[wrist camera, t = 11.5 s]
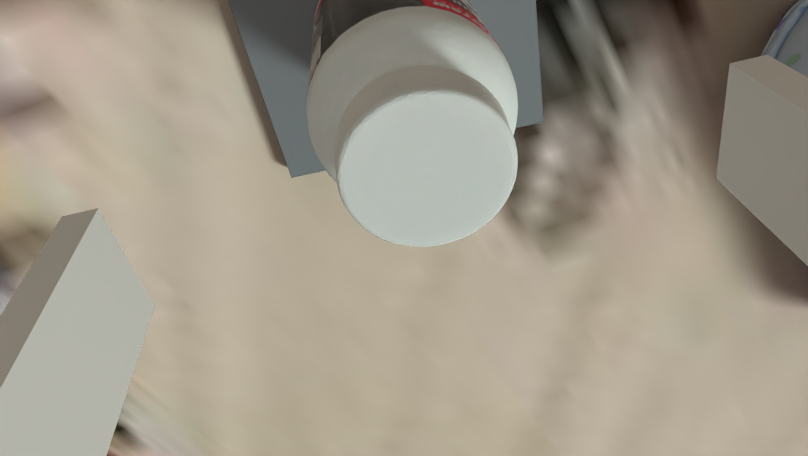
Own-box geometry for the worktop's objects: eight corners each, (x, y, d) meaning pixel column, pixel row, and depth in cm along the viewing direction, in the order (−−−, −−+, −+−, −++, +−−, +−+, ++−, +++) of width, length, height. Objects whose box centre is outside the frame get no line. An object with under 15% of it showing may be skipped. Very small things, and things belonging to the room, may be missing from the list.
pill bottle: (471, -59, 20) (567, 47, 12) (467, 98, 23) (540, 264, 15) (302, -50, 19) (283, 65, 12) (321, 108, 23) (317, 284, 15)
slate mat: (539, 115, 24) (543, 121, 24) (292, 169, 25) (291, 177, 24) (518, -185, 18) (523, -184, 18) (194, -108, 19) (191, -105, 18)
